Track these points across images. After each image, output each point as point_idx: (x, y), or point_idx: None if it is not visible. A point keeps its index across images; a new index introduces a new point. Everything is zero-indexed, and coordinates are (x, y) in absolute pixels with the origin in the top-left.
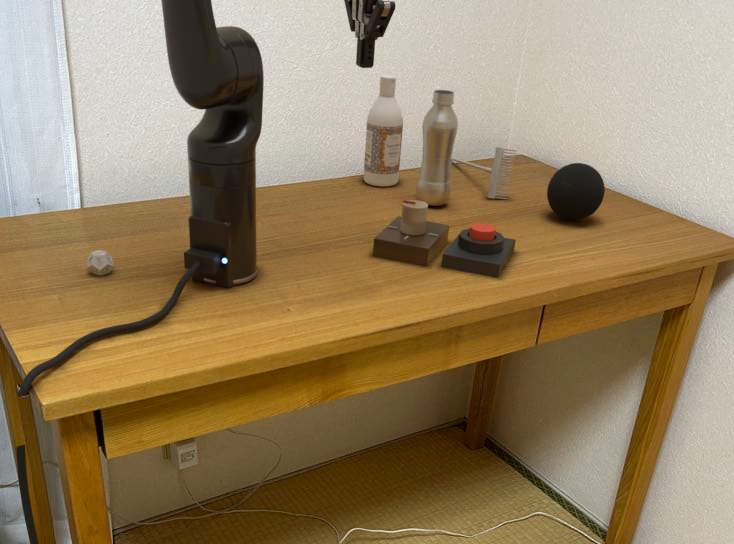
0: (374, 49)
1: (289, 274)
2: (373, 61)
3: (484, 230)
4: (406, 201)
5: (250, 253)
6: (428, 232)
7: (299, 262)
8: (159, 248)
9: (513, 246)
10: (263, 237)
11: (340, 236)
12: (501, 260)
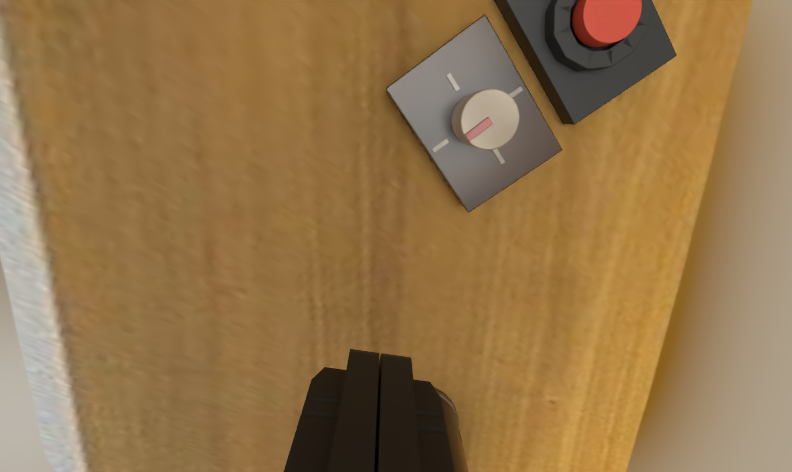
0: (416, 427)
1: (457, 351)
2: (409, 371)
3: (628, 23)
4: (475, 136)
5: (458, 434)
6: None
7: (425, 319)
8: None
9: None
10: (306, 318)
11: (354, 202)
12: (665, 36)
